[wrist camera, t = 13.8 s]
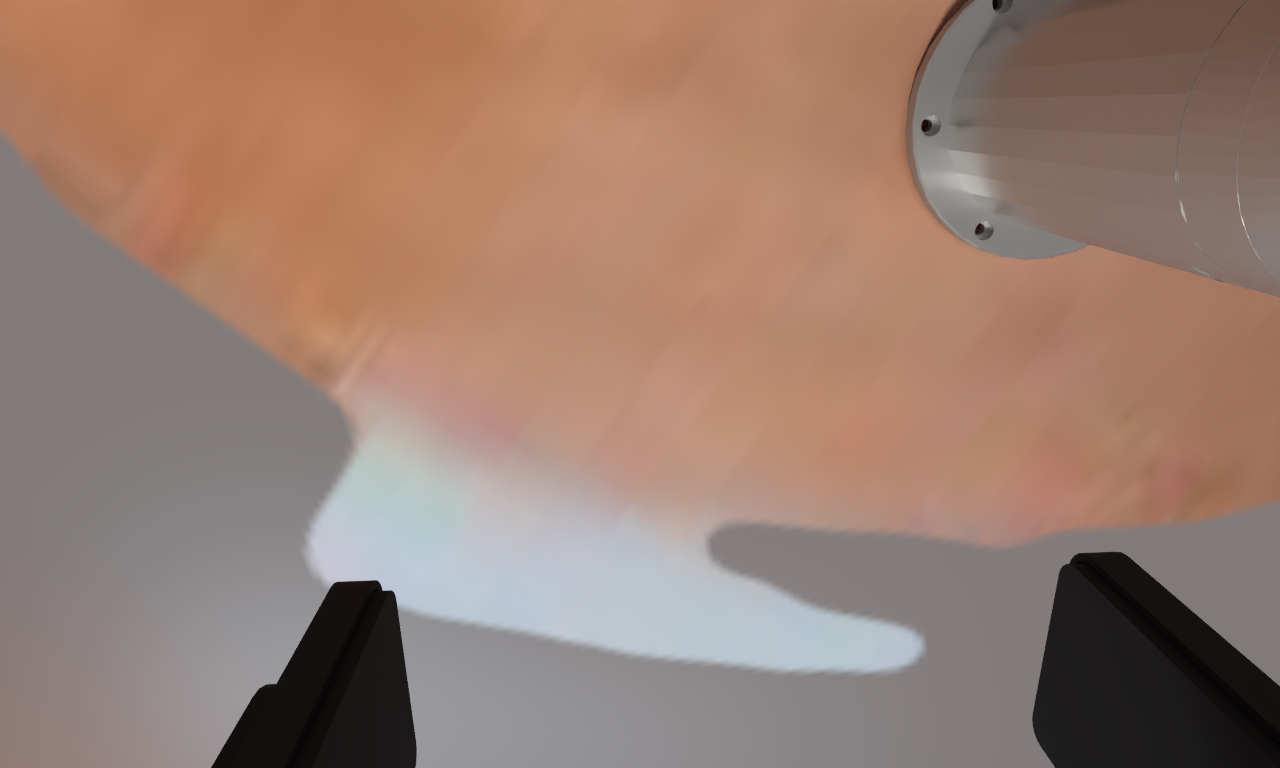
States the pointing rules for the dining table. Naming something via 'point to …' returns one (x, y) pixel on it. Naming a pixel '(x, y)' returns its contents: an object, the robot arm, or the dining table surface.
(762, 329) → the dining table surface
